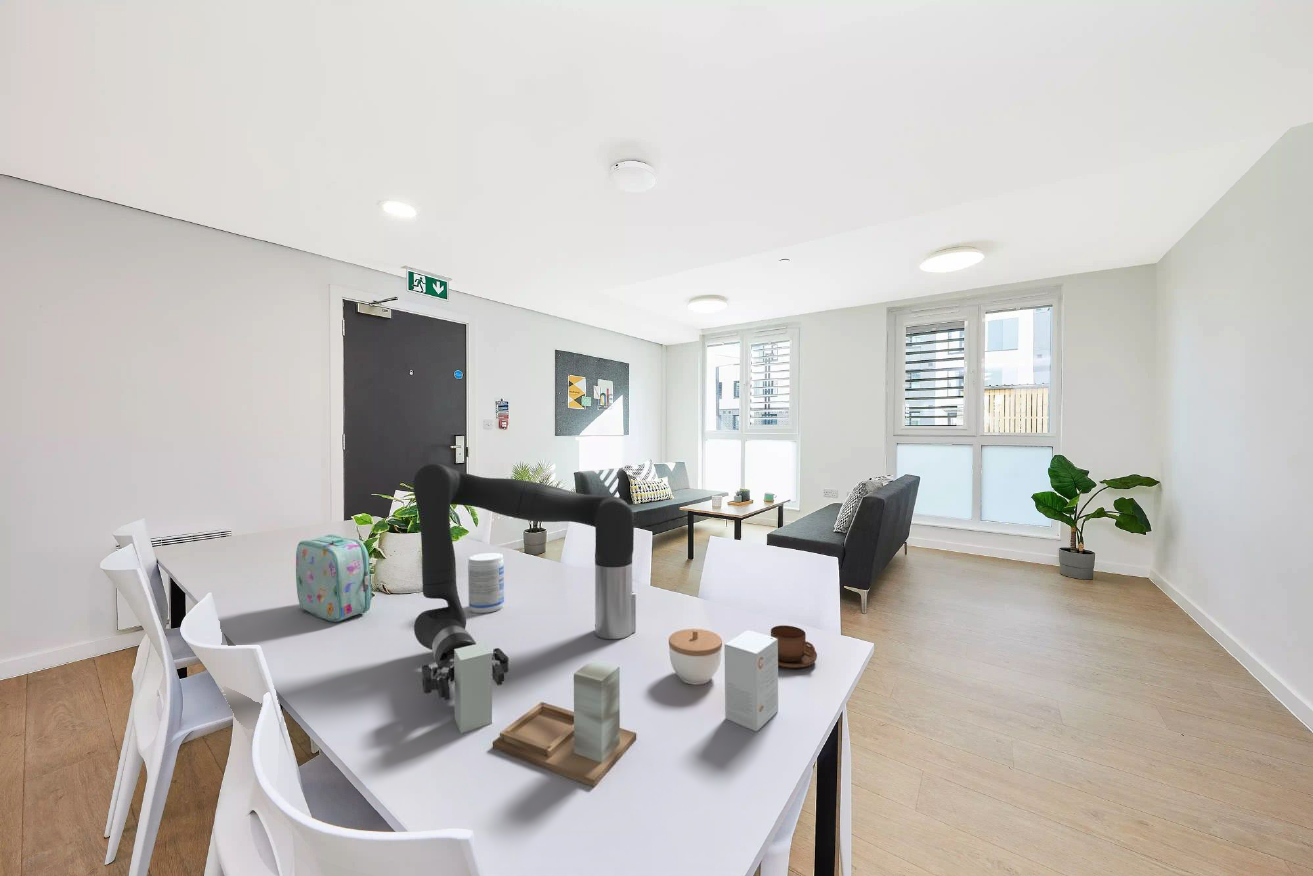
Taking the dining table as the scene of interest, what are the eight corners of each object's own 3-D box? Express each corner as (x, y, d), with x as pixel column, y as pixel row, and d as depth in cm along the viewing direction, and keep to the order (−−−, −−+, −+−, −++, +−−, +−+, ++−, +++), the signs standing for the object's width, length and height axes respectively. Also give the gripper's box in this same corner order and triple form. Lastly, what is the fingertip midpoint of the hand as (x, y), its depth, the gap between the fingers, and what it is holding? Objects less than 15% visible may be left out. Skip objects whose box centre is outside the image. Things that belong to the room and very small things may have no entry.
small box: (747, 699, 90) (747, 628, 90) (779, 711, 86) (779, 638, 86) (723, 718, 84) (723, 643, 84) (756, 733, 80) (756, 653, 80)
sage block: (484, 709, 87) (484, 642, 87) (491, 723, 83) (491, 652, 83) (454, 718, 85) (454, 649, 84) (460, 733, 80) (460, 660, 80)
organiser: (543, 709, 87) (542, 636, 87) (636, 739, 79) (636, 658, 78) (492, 748, 76) (492, 665, 76) (594, 787, 68) (593, 693, 68)
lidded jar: (726, 669, 102) (726, 624, 102) (715, 695, 92) (715, 645, 92) (677, 661, 106) (677, 618, 106) (661, 685, 95) (661, 637, 95)
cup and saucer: (820, 654, 109) (820, 626, 109) (813, 678, 98) (813, 647, 98) (766, 644, 114) (766, 618, 114) (754, 666, 104) (754, 637, 104)
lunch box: (379, 616, 133) (378, 537, 133) (338, 628, 124) (337, 544, 124) (331, 598, 147) (330, 527, 147) (291, 609, 138) (290, 533, 138)
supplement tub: (508, 610, 137) (508, 557, 137) (473, 617, 132) (472, 562, 132) (498, 600, 145) (498, 550, 145) (464, 606, 140) (464, 555, 140)
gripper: (415, 640, 92) (428, 676, 78) (492, 624, 100) (516, 654, 86) (415, 680, 92) (428, 722, 79) (492, 661, 100) (516, 696, 86)
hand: (474, 686), depth 82 cm, fingers open, 8 cm apart
